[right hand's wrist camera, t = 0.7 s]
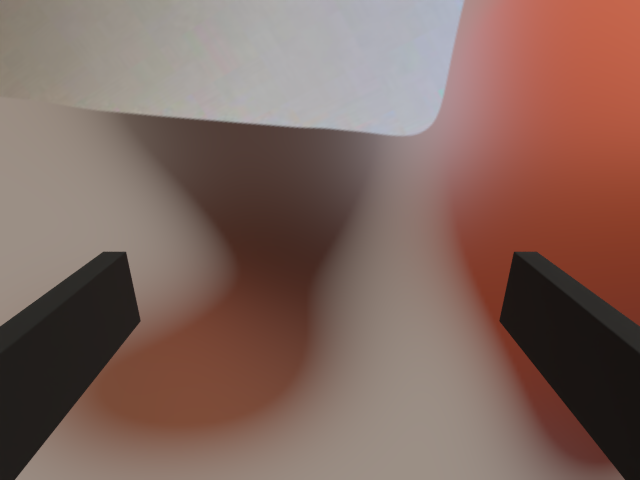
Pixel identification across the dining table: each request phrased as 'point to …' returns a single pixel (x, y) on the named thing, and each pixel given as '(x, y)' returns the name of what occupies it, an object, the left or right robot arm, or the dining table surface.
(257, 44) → the dining table surface
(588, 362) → the right robot arm
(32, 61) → the dining table surface
